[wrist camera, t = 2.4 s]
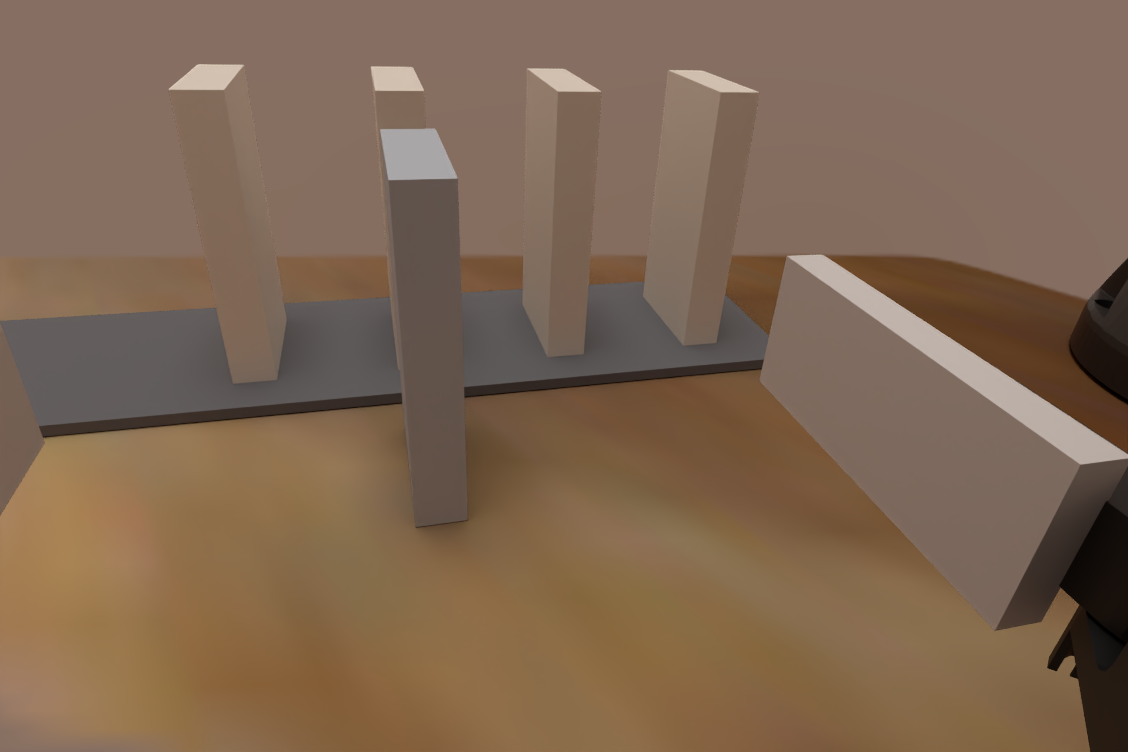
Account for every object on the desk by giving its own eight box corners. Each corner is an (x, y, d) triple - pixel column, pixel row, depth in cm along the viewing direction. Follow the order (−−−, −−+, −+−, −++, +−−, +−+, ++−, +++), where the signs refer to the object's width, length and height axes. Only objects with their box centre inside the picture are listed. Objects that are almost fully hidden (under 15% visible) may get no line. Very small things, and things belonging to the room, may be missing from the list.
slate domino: (448, 424, 30) (435, 128, 24) (467, 520, 25) (457, 178, 19) (404, 428, 30) (380, 129, 24) (415, 527, 25) (388, 180, 19)
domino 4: (672, 294, 42) (702, 70, 35) (716, 343, 37) (759, 92, 31) (643, 296, 41) (668, 70, 35) (683, 345, 36) (720, 92, 30)
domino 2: (426, 310, 38) (412, 66, 32) (437, 366, 33) (424, 90, 27) (391, 312, 38) (370, 66, 32) (398, 369, 33) (375, 90, 27)
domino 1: (286, 320, 37) (244, 64, 31) (276, 380, 32) (223, 89, 26) (248, 322, 36) (197, 64, 30) (232, 383, 31) (167, 89, 25)
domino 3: (554, 302, 40) (564, 68, 34) (583, 354, 35) (601, 91, 29) (522, 304, 40) (526, 68, 33) (547, 357, 35) (557, 91, 28)
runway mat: (706, 285, 44) (707, 277, 44) (788, 365, 36) (791, 356, 36) (-10, 331, 35) (-14, 321, 35) (-120, 452, 27) (-126, 441, 27)
